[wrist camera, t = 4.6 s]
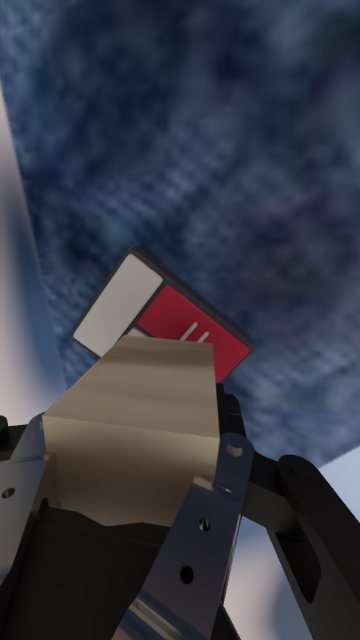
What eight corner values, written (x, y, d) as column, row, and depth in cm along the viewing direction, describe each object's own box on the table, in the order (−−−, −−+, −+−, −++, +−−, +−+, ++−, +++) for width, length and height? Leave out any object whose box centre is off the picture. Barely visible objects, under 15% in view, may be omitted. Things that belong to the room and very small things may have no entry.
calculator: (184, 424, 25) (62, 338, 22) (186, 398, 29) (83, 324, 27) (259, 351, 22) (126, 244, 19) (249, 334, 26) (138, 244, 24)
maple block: (124, 334, 13) (42, 415, 7) (212, 343, 13) (219, 438, 6) (124, 410, 15) (56, 539, 8) (204, 419, 14) (202, 566, 8)
